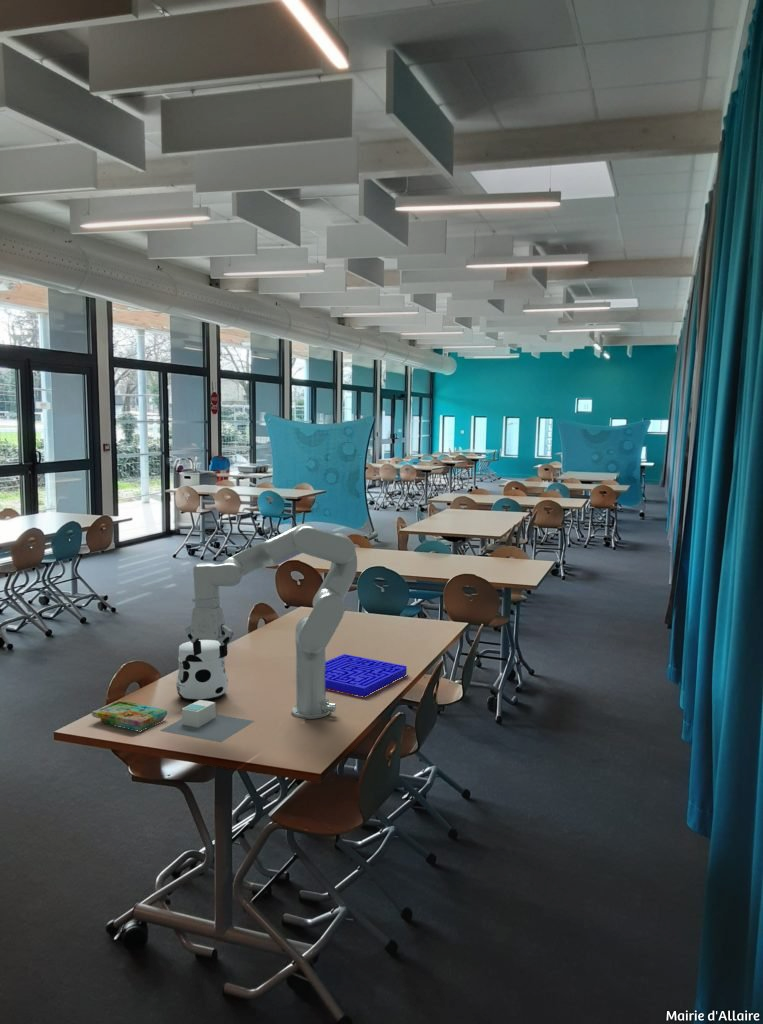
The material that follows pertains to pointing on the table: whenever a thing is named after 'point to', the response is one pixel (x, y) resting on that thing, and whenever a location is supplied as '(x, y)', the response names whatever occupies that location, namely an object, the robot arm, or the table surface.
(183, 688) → the milk container
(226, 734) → the mat
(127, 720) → the puzzle game
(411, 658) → the table surface
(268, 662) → the table surface
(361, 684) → the maze
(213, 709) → the card box
